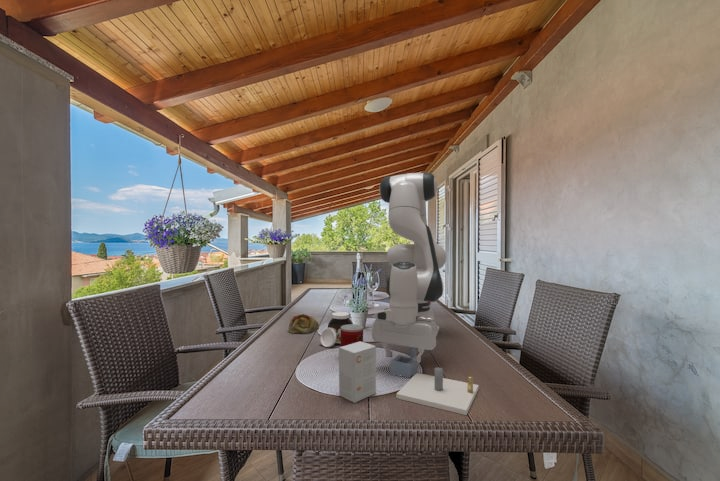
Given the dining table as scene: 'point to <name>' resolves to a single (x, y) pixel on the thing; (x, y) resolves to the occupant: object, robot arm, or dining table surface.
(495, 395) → the dining table surface
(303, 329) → the pastry
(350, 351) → the small box
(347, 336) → the canned food
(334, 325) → the spread jar
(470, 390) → the dowel
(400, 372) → the grey socket with handle
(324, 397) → the dining table surface
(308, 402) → the dining table surface
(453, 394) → the post board
